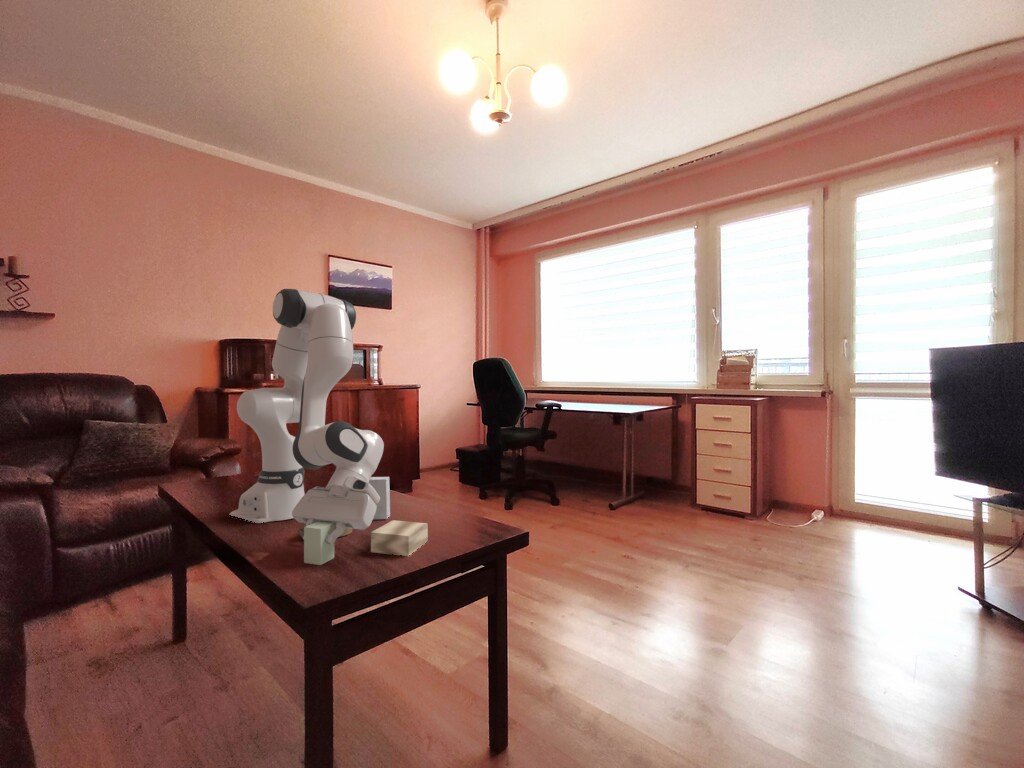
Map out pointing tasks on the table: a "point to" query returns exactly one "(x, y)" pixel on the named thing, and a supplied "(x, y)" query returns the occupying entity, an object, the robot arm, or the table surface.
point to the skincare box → (381, 496)
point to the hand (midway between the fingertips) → (317, 541)
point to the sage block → (318, 543)
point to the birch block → (399, 537)
